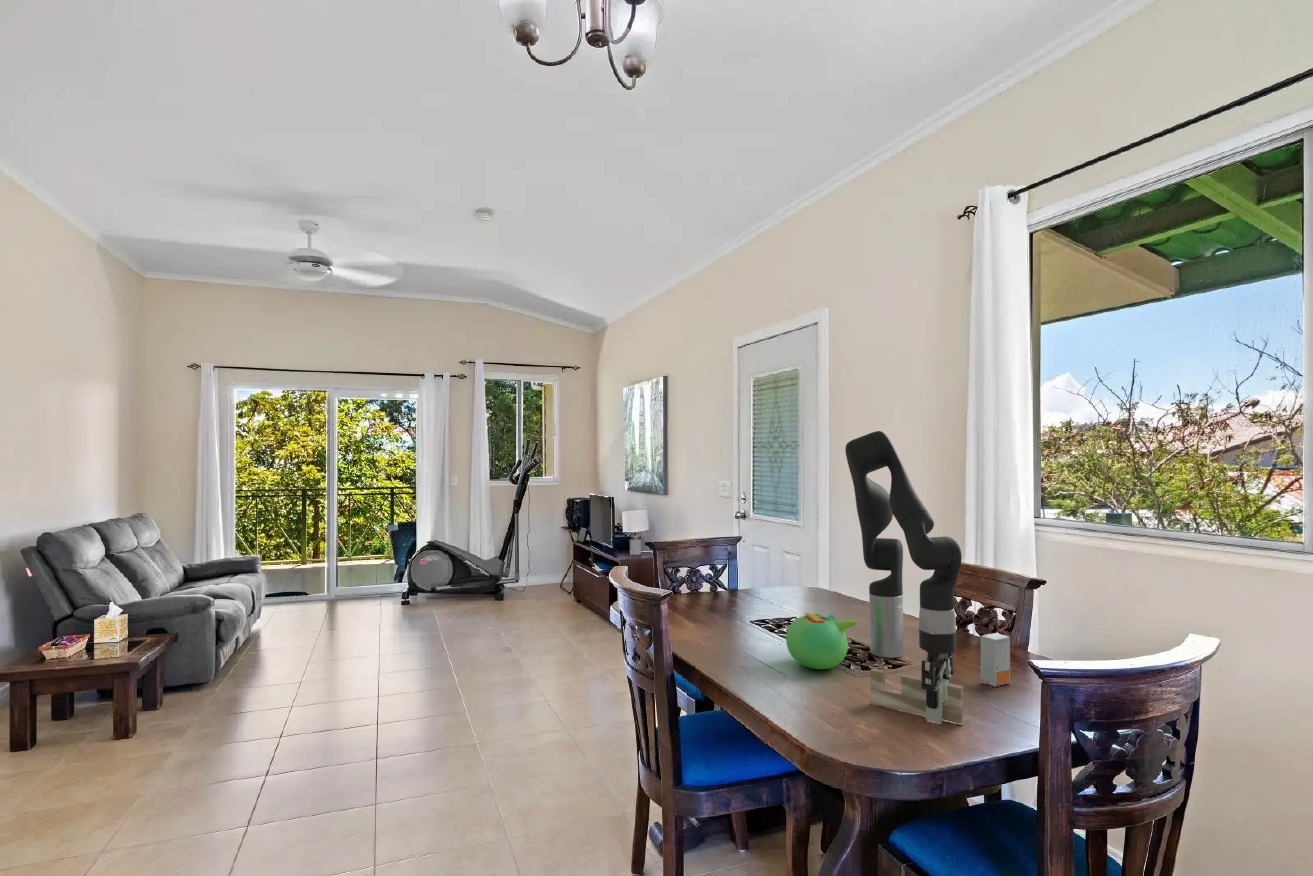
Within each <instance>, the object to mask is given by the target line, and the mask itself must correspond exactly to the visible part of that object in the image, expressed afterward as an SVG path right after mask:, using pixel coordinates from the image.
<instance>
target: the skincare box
mask: <svg viewBox="0 0 1313 876" xmlns="http://www.w3.org/2000/svg"><path fill="white" fill-rule="evenodd" d="M981 681H982V682H987V683H989V684H992V685H998V684H1001V683H1004V682H1010V683H1011V637H1010V636H1009V635H1005V634H1000V633H997V632H995V633H987V634H983V635H980V682H981Z"/></svg>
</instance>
